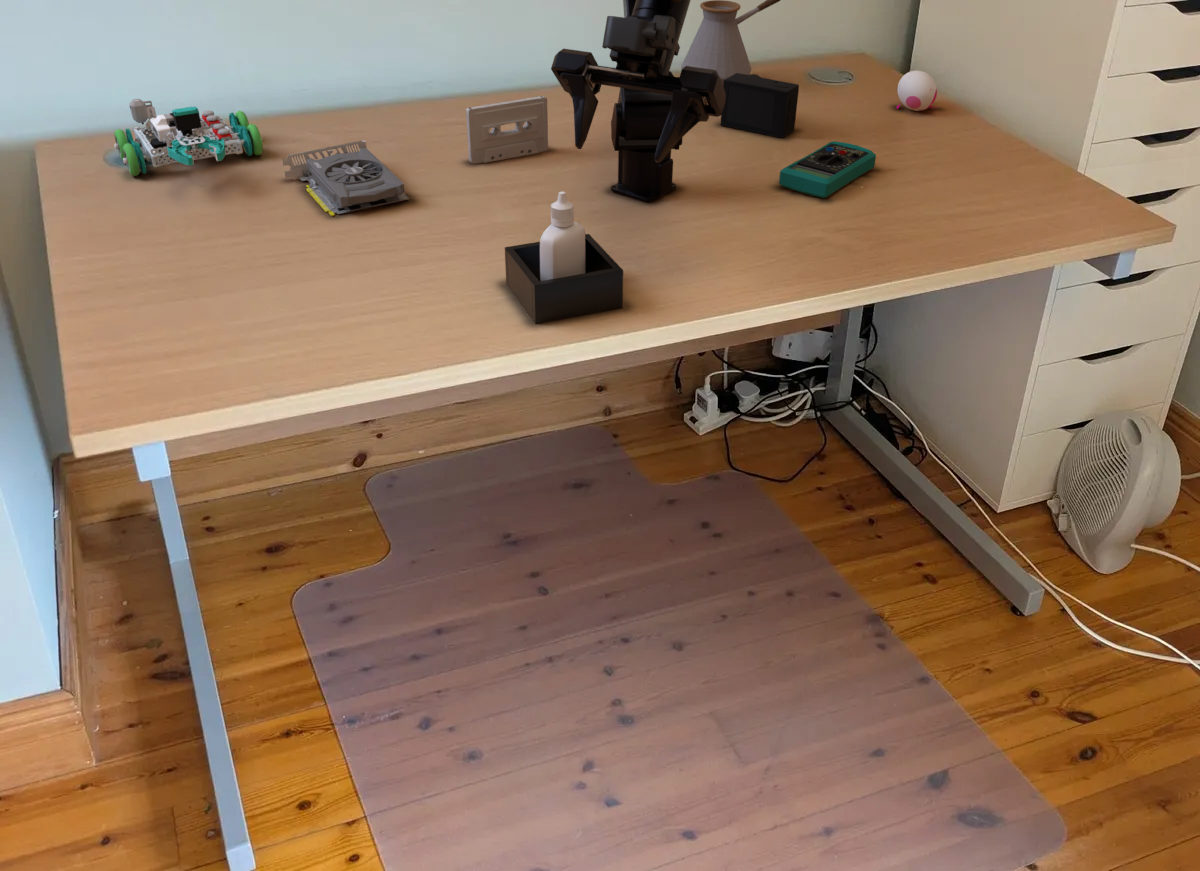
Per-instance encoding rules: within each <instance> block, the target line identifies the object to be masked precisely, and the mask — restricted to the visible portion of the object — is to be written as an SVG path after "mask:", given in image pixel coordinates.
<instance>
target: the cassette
mask: <svg viewBox="0 0 1200 871" xmlns="http://www.w3.org/2000/svg"><path fill="white" fill-rule="evenodd" d="M465 114H466V116H465V117H466V130H467V132H466V134H467V147H468V148H467V149H468V150H467V151H468V161H469V163H471V164H473V165H476V164H483V163H484V164H486V163H491V162H497V161H503V160H507V159H508V160H509V159H513V158H519V157H523V156H530V155H535V154H538V153H541V152H542V153H544V152H546V151H548V150H549V125H548V124H549V121H548V98H547V97H546V96H544V95H539V96H533V97H527V98H520V99H513V100H507V101H502V102H496V103H488V104H483V105H476V106H471V107H467V108H466V109H465ZM510 124H511V125H512V124H514V126H515V128H514V129H508V130H502V129H501V128H502V127H501V126H504V125H510ZM491 129H492V130H491Z"/></svg>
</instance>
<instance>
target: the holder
mask: <svg viewBox="0 0 1200 871" xmlns="http://www.w3.org/2000/svg"><path fill="white" fill-rule="evenodd" d="M504 263H505V264H504V265H505V266H504V267H505V284H506V286H507V287H508V288H509V290H510V291H511V292H512V294H513V295H514V296H515V298H516V299H517V300H518V302H519V303H520V305H521V306H522V307H523V308H524V310H525V311H526V313H527V314H528V315H529V317H530V318H531V319H532V321H533V322H534V324H535V325H537V324H541V323H547V322H553V321H558V320H563V319H570V318H575V317H580V316H585V315H590V314H597V313H601V312H607V311H613V310H619V309H623V307H624V306H623V305H624V303H623V302H624V269H623V268H622V267H621V266H620V265H619V264H618V263H617V262H616V261H615V260H614V259H613V257H611V255H609V253H607V251H606V250H605V249H604V248H603V247H602V246H601V245H600V244H599V243H598V242H597V240H595V238H594V237H593V236H592V235H590V234H589V233H585V274H579V275H573V276H567V277H561V278H556V279H550V280H544V281H540V241H535V242H530V243H523V244H517V245H511V246H505V247H504Z"/></svg>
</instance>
